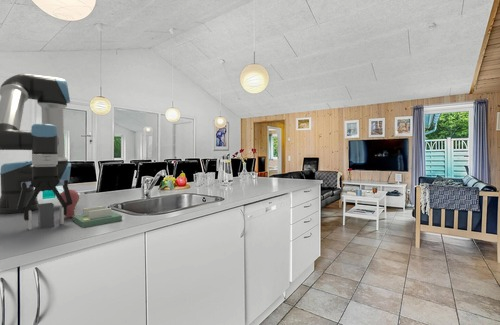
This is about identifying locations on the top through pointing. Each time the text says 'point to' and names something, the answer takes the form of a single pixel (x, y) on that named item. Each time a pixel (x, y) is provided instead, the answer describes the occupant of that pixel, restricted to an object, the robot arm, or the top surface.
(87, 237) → the top surface
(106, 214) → the board
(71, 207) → the light bulb
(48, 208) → the dark gray block
